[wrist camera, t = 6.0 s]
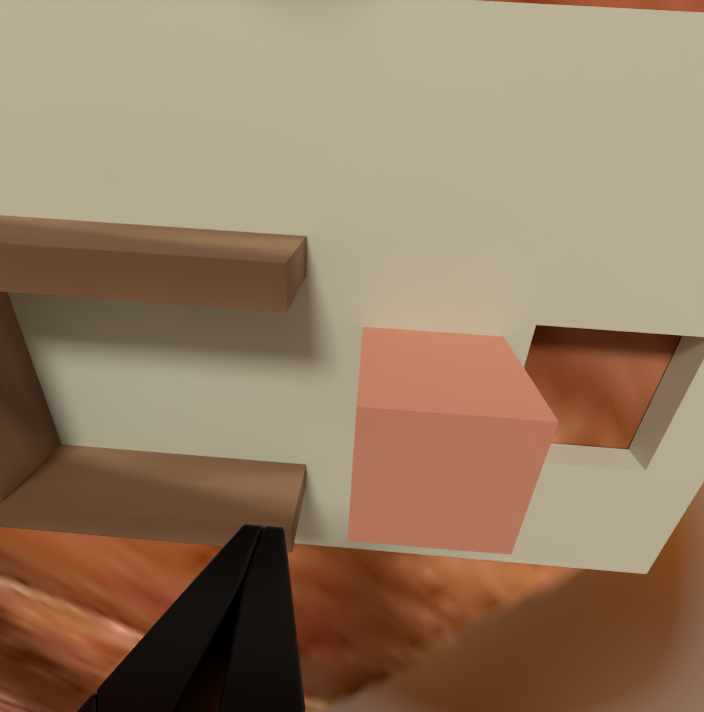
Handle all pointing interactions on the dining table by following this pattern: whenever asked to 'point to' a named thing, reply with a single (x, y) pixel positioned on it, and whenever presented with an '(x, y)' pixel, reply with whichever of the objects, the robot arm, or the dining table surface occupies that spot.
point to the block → (444, 441)
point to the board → (371, 224)
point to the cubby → (130, 467)
